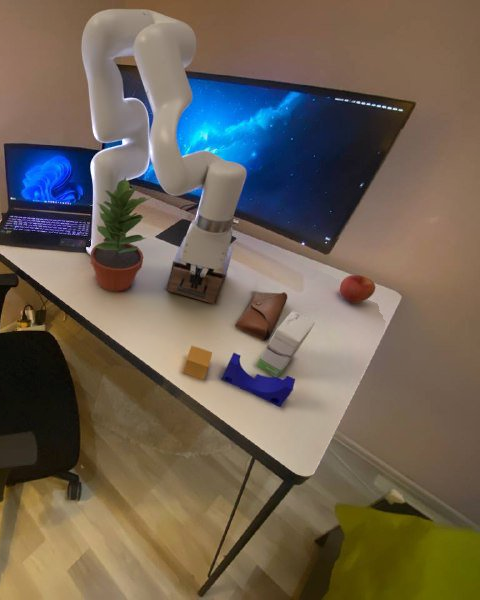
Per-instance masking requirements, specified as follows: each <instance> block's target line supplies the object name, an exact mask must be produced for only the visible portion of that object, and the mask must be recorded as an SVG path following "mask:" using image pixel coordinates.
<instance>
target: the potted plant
mask: <svg viewBox="0 0 480 600" xmlns="http://www.w3.org/2000/svg"><path fill="white" fill-rule="evenodd" d="M130 184H131V183H130V182H129V180H126V176H125V178H124V180H122V181H120V182H119V183H118V185H117V189H116V191H115V190H114V193H113V194H112V193H111V192H109V191H107V190H106V191H105V192H106V193H107V194H108V195H109V196H110V197H111V203H109V202H107V201H104V202H103V203H104V204H106V205H107V206H108V207H110V210H109V209H107V208H106V207H105V206H104V205H102V204H98V203H97V202H96V203H97V204H98V205H99V206H100V208H101V210H102V211H103V212H104V213H105V214H102V213H101V212H100V214H101V216H100V217H101V219H102V220H103V221H104V224H105V226H106V227H104V226H98V225H97V227H98V228H97V230H98V231H99V232H100V233H101V234H102V235H103V236H104V237H105V239H104V242H103V243H100V244H97V245H96V246H95V247H94V248H93V249H92V251H91V255H90V264H91V266H92V267H93V270H94V274H95V279H96V282H97V284H98V285H99V286H100V287H101V288H102V289H104V290H106V291H110V292H121V291H126V290H127V289H129V288H130V287H131V286H132V284H133V282H134V279H135V278H136V276H137V274H138V272H139V271H140V270H141V268H142V267H143V264H144V263H143V262H144V254H143V252H142V251H141V249H140V248H139V247H138V246H137V245H135V244H132V243H136V242H140V241H143V240H146V237H143V235H141V234H132V235H128V236H127V233H128V232H129V231H131V230H132V229H133V228H134V227H136V226H137V225H138V224H139V223H141V221H142V219H143V218H145V217H146V216H143V215H142V214H138V212H135V213H133V214H131V213H132V212H133V211H134V210H136V208H137V207H138V206H139V205H141V204H142V203H144V202H146V201H148V200H150V199H151V198H150V197H149V198H147V197H144V196H140V197H139V198H131V197H133V195H134V193H135V192H136V191H137V188H136V187H133V188H132V189H130V187H131V185H130Z"/></svg>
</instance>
